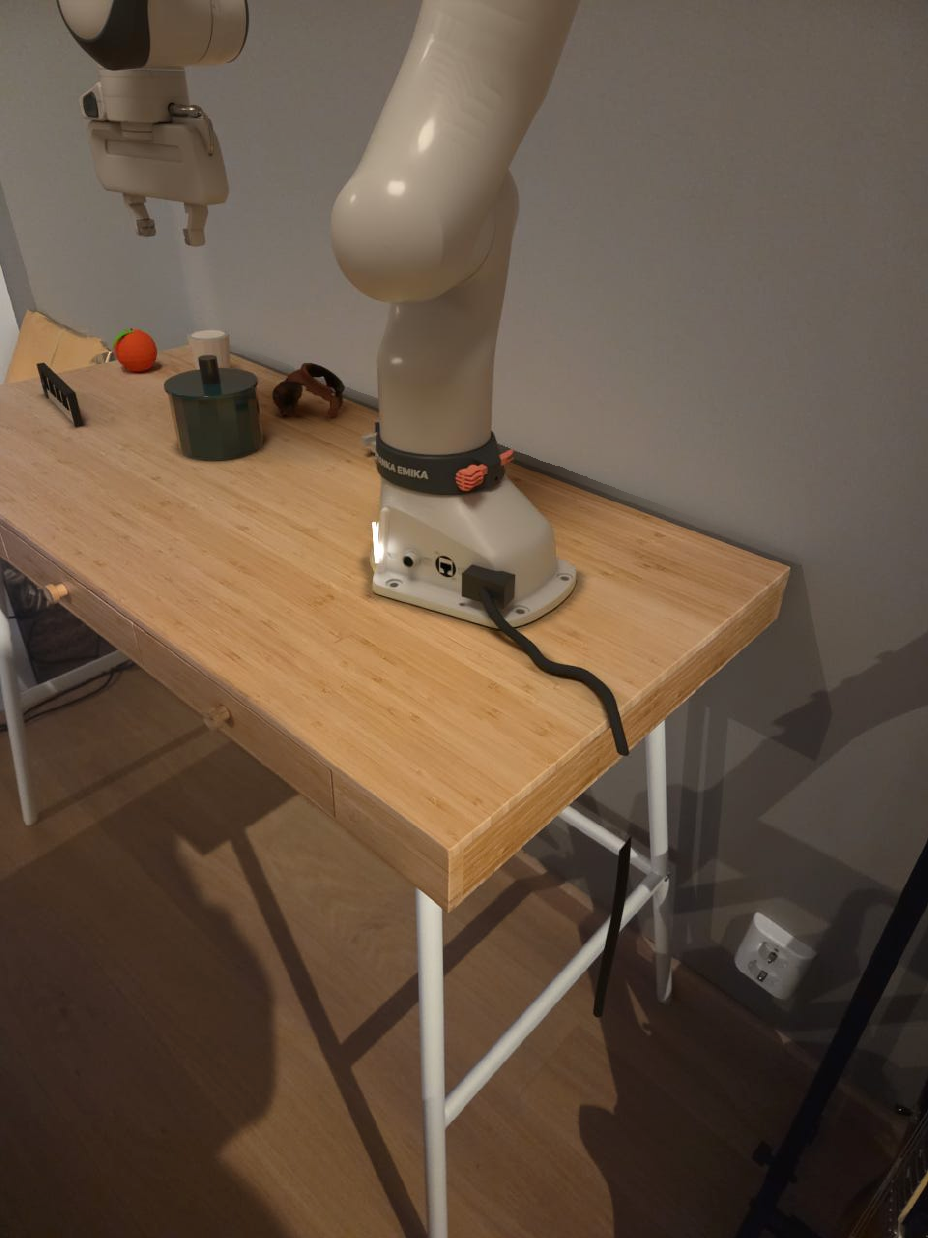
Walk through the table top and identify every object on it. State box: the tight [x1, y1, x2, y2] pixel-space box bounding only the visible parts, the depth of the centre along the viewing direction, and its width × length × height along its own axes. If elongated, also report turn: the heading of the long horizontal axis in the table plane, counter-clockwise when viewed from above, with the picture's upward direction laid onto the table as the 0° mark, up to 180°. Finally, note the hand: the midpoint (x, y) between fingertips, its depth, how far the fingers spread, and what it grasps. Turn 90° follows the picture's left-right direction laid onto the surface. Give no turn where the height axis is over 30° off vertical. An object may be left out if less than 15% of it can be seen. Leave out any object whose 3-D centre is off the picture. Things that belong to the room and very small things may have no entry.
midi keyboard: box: [35, 362, 84, 428], centre depth 126 cm, size 18×1×5 cm, turn 36°
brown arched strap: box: [271, 362, 346, 419], centre depth 125 cm, size 12×10×8 cm
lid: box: [163, 355, 259, 400], centre depth 110 cm, size 12×12×4 cm
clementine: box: [112, 328, 158, 372], centre depth 141 cm, size 8×7×7 cm
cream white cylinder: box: [186, 328, 232, 370], centre depth 140 cm, size 7×7×7 cm
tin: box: [167, 385, 264, 462], centre depth 114 cm, size 11×11×8 cm
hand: (170, 240), depth 97 cm, fingers open, 8 cm apart
